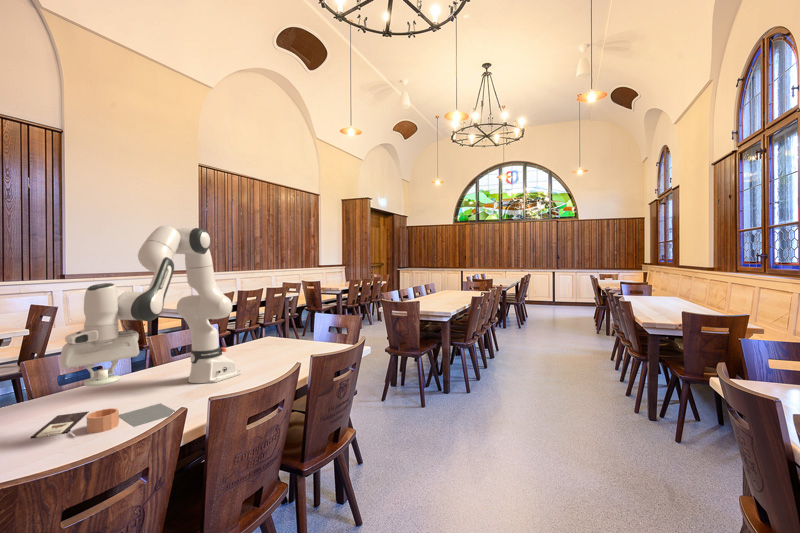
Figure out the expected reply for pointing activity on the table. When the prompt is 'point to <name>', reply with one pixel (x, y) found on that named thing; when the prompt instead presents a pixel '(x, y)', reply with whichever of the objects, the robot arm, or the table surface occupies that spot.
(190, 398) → the table surface
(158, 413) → the mat
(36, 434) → the chocolate bar
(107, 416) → the cup
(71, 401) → the table surface
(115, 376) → the lid
